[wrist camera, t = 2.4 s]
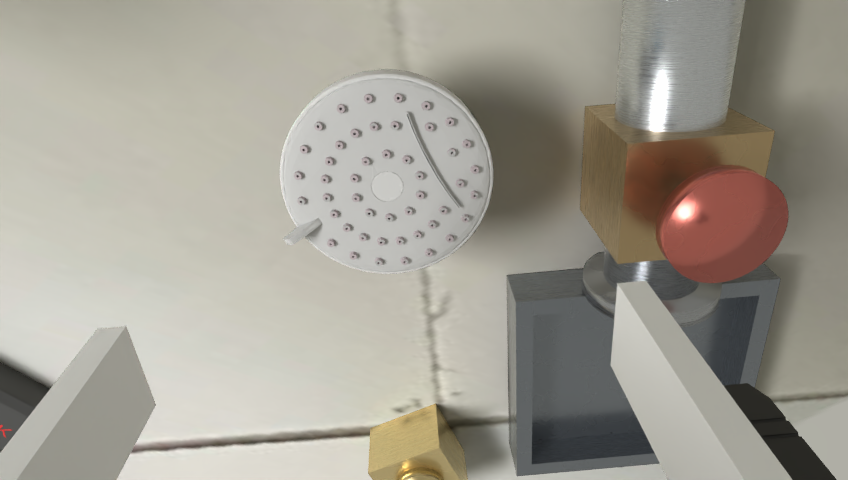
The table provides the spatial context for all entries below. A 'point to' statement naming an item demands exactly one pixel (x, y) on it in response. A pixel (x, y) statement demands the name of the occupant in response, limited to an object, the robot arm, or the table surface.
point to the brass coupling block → (416, 448)
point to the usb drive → (16, 401)
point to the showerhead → (386, 172)
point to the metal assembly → (650, 240)
